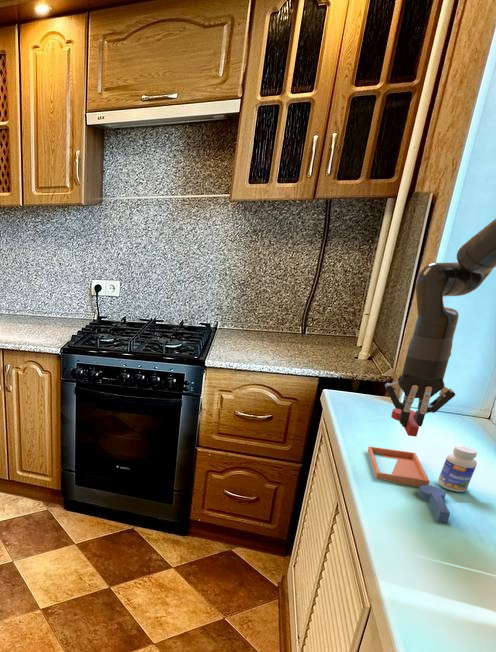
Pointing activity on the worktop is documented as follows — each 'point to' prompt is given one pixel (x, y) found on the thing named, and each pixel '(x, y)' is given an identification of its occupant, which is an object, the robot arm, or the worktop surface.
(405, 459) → the tray
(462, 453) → the pill bottle
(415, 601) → the worktop surface
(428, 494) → the blue spoon
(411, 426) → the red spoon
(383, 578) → the worktop surface
